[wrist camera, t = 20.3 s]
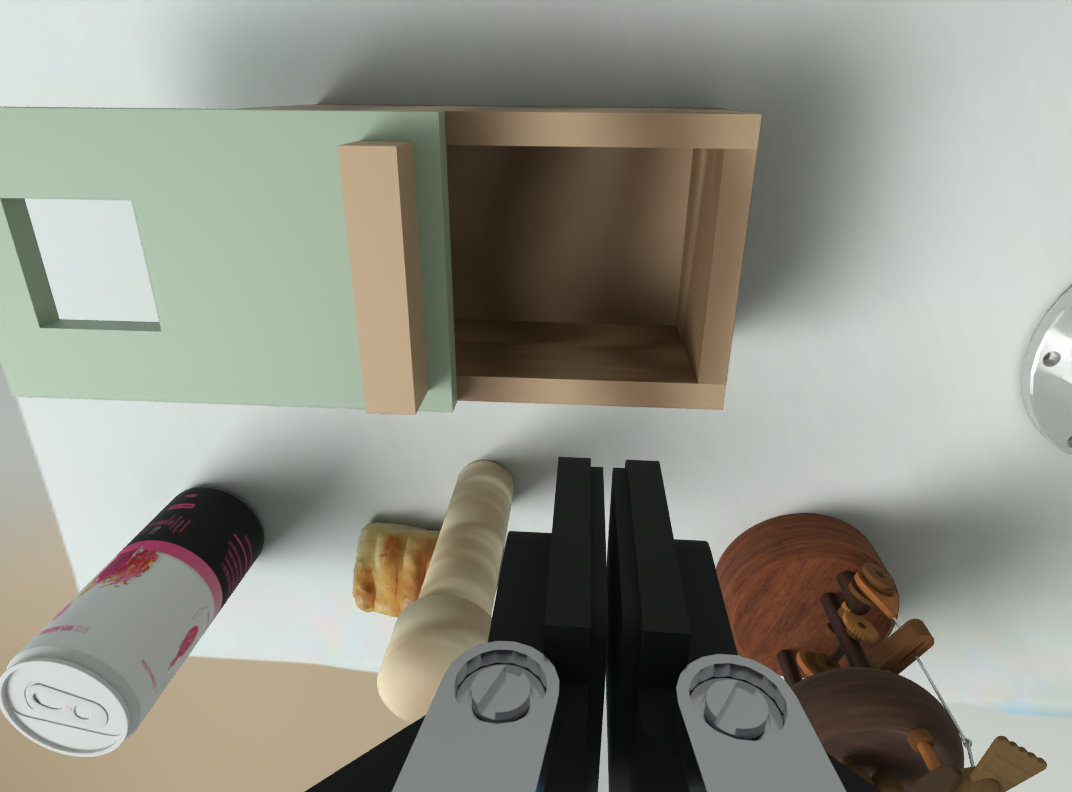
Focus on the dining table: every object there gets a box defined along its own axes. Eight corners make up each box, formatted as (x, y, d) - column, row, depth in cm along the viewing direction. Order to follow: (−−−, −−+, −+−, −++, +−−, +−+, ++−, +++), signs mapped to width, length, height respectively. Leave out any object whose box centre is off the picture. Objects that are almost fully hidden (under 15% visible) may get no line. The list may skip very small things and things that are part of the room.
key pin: (523, 453, 42) (489, 648, 27) (523, 518, 44) (492, 733, 29) (446, 450, 42) (371, 641, 28) (449, 515, 44) (382, 726, 30)
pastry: (503, 527, 44) (496, 564, 41) (498, 607, 47) (491, 648, 44) (361, 513, 45) (342, 549, 41) (364, 593, 48) (347, 633, 44)
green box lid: (444, 111, 26) (424, 114, 22) (457, 400, 31) (441, 438, 27) (-59, 106, 27) (-148, 108, 24) (32, 385, 32) (-32, 419, 29)
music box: (747, 472, 41) (922, 782, 23) (912, 506, 43) (1200, 826, 24) (668, 654, 48) (756, 1011, 29) (813, 680, 49) (984, 1037, 31)
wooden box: (718, 108, 33) (761, 114, 25) (693, 341, 38) (722, 409, 30) (316, 104, 34) (232, 109, 26) (342, 330, 39) (278, 394, 31)
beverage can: (180, 468, 44) (-3, 638, 30) (277, 505, 45) (141, 688, 31) (162, 543, 47) (-13, 731, 33) (254, 577, 47) (120, 775, 34)
